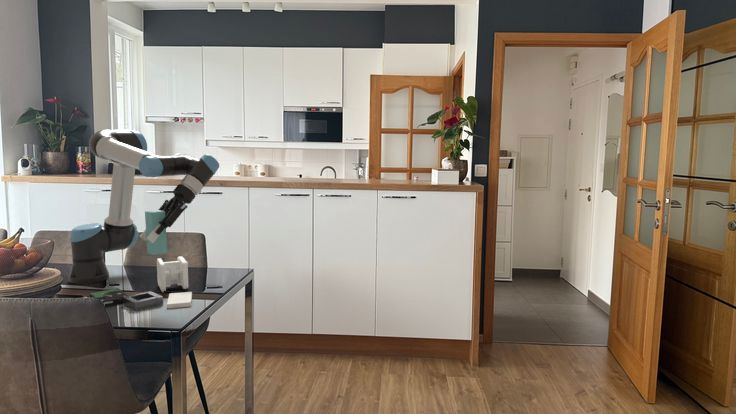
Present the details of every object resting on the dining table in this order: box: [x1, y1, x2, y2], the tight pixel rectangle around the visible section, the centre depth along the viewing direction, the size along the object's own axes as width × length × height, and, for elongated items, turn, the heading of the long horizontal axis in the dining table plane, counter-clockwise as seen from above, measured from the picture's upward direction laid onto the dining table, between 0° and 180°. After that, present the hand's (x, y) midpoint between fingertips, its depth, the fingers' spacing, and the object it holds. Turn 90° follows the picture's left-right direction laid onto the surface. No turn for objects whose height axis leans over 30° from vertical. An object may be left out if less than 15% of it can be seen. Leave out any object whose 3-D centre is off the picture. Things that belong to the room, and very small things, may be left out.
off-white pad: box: [166, 291, 193, 309], centre depth 191 cm, size 14×8×2 cm, turn 17°
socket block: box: [122, 290, 164, 312], centre depth 187 cm, size 10×10×3 cm
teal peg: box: [144, 209, 168, 256], centre depth 185 cm, size 5×5×15 cm
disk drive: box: [89, 288, 129, 307], centre depth 193 cm, size 10×3×15 cm
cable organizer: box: [156, 255, 189, 293], centre depth 209 cm, size 15×11×12 cm
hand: (146, 239), depth 183 cm, fingers closed on teal peg, 5 cm apart
